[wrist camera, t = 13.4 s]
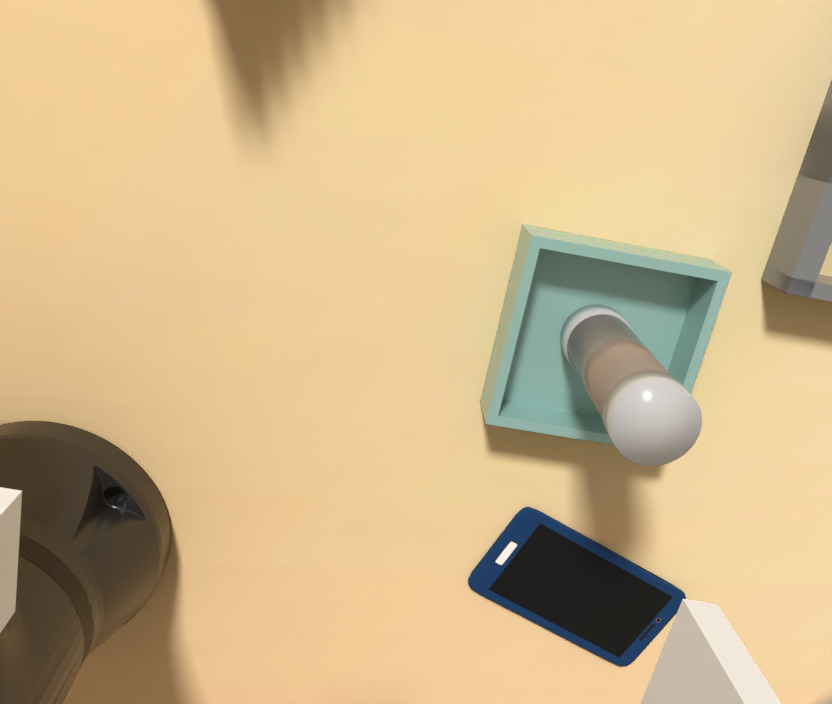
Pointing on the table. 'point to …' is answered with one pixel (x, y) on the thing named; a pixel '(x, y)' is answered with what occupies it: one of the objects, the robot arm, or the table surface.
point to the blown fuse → (630, 387)
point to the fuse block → (807, 220)
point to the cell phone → (575, 587)
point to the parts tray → (580, 286)
